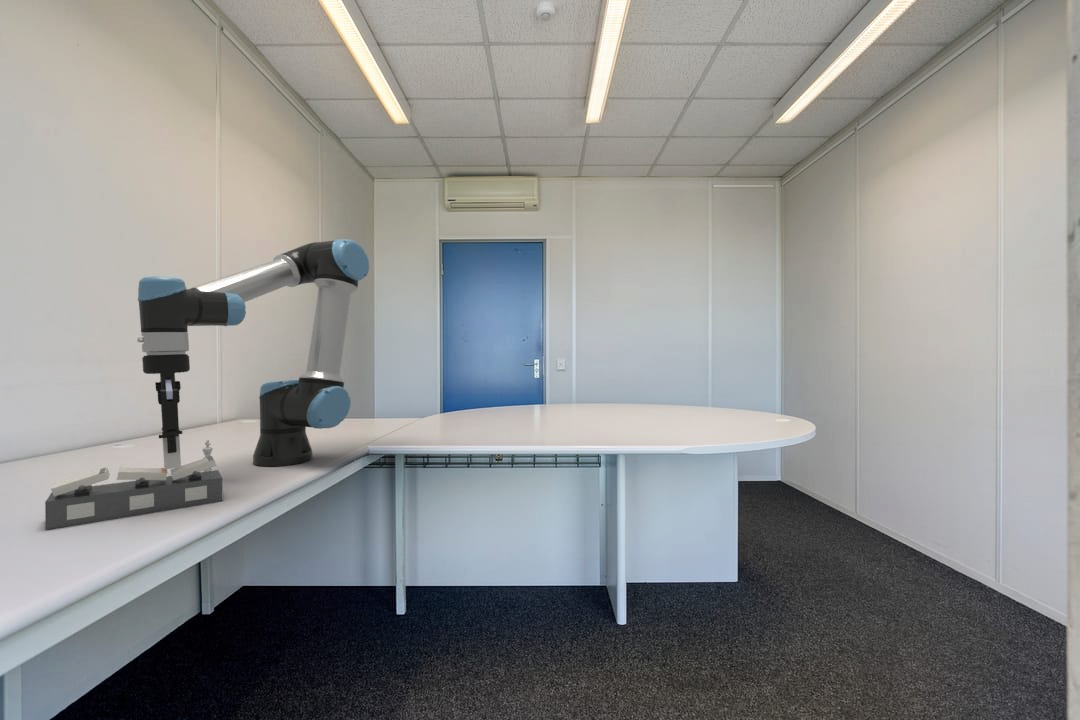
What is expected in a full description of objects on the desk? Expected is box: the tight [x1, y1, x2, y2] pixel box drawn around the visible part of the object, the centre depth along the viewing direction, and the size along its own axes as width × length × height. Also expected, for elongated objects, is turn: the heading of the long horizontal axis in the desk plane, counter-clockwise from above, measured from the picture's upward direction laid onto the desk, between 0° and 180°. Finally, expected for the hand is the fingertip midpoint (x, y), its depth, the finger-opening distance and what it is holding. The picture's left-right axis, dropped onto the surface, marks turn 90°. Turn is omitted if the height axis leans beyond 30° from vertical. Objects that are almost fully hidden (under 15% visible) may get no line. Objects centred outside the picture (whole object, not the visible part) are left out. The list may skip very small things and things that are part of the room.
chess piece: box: [202, 439, 213, 472], centre depth 114 cm, size 5×5×10 cm
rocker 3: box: [169, 455, 217, 481], centre depth 100 cm, size 8×4×2 cm, turn 129°
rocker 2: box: [116, 466, 169, 482], centre depth 94 cm, size 8×4×2 cm, turn 130°
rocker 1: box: [50, 467, 111, 496], centre depth 89 cm, size 8×4×2 cm, turn 129°
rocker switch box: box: [44, 469, 223, 531], centre depth 94 cm, size 26×8×6 cm, turn 130°
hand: (172, 467), depth 97 cm, fingers closed
